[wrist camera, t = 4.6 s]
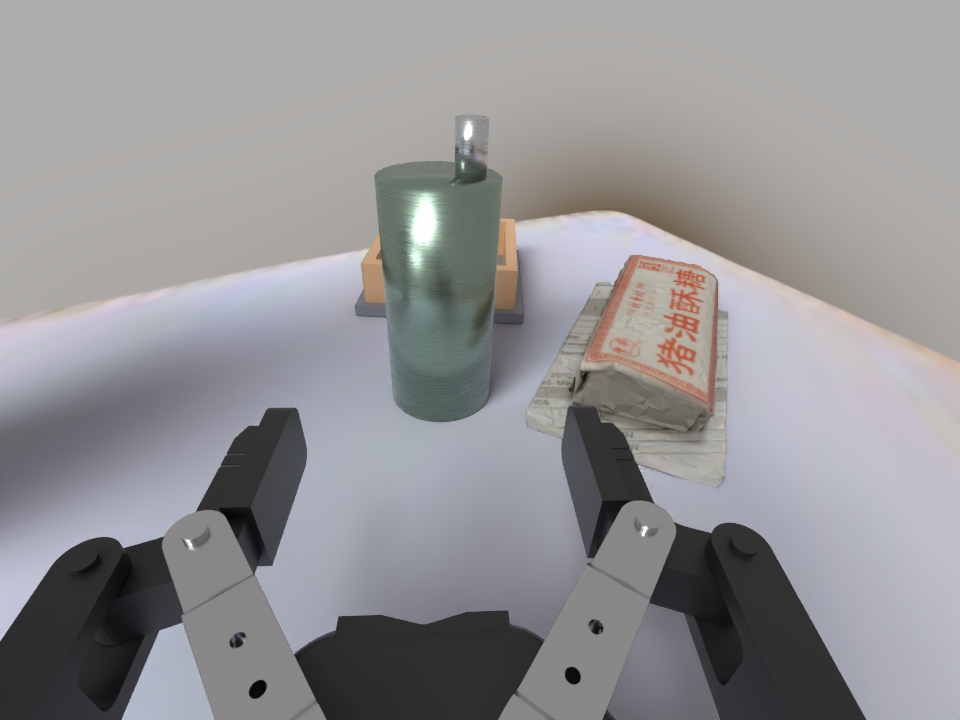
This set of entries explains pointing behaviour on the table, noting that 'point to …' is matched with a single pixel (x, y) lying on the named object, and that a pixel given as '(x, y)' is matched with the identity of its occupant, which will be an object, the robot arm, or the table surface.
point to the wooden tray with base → (506, 280)
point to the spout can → (441, 275)
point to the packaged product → (648, 368)
